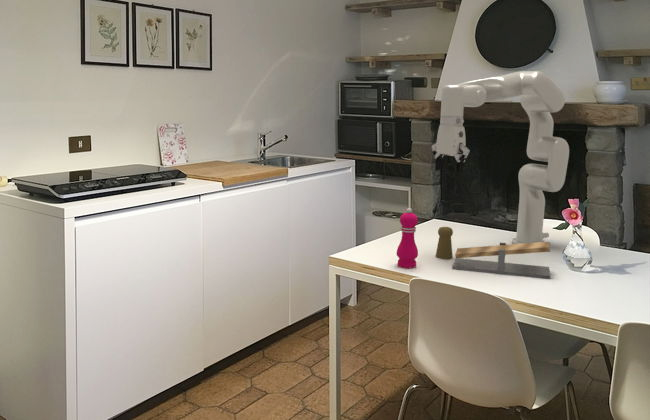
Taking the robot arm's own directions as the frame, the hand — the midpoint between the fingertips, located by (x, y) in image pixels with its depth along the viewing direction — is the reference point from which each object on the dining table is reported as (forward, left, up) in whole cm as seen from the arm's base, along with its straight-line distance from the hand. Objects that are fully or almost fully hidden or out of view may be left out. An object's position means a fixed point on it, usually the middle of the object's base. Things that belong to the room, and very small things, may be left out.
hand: (448, 171), depth 213 cm
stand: (-8, +19, -31) cm, 37 cm away
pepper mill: (+17, 0, -31) cm, 36 cm away
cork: (-2, -2, -31) cm, 32 cm away
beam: (-8, +19, -25) cm, 33 cm away
